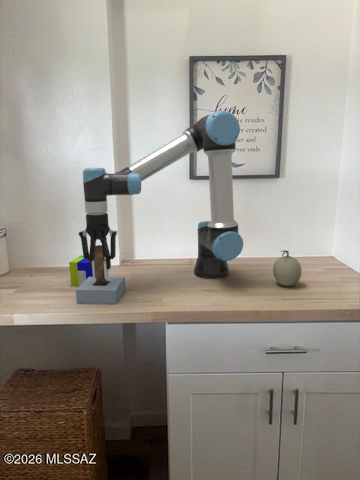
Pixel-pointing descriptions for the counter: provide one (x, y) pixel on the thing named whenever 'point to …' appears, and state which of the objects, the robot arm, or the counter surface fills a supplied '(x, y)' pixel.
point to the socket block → (101, 291)
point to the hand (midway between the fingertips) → (101, 277)
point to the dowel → (99, 265)
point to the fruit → (287, 270)
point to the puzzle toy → (79, 270)
